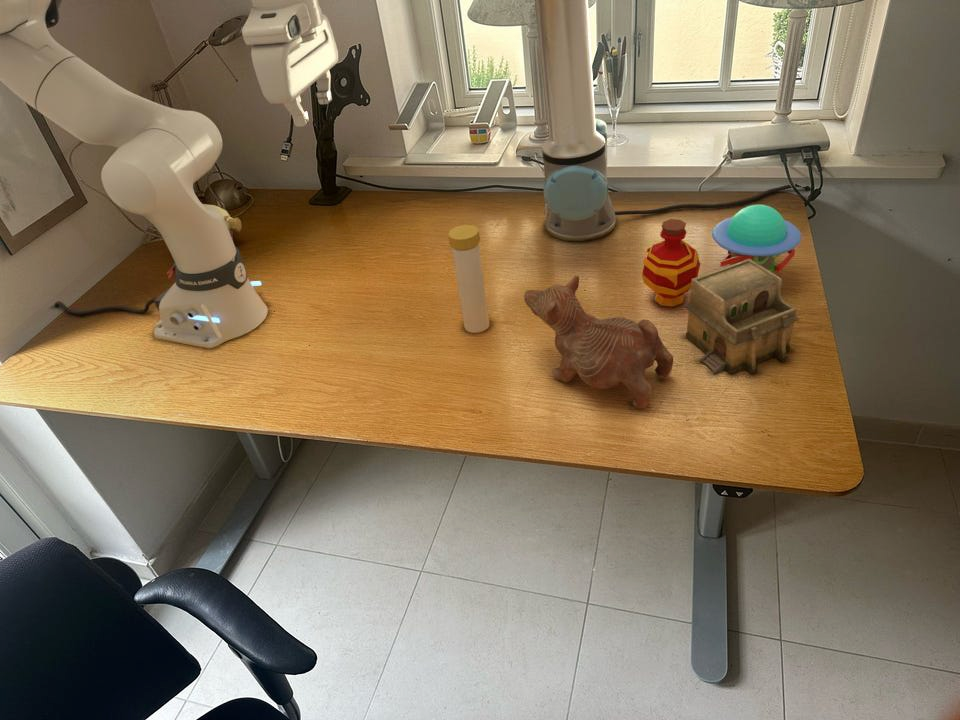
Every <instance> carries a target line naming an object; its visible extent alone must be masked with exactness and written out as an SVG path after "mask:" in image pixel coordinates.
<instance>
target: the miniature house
mask: <svg viewBox="0 0 960 720" xmlns="http://www.w3.org/2000/svg"><path fill="white" fill-rule="evenodd" d="M729 265H730V264H729ZM729 265H726V266H724V267H722V268H719V269H716V270H713V271H711V272H708V273H705V274H702V275H700V276H698V277H697V278H694V279H692V282H691V289H690V293H689V294H690V295H689V302H688V304H686V305H684V308H685V309H686V310H688V318H687V329H686V332H685V338H686V339H688V340H689V341H690V342H691V343H692V344H693V345H694V346H696V347H697V348H698V349H700V351H702V352H703V353H704V355H703V356H702V357H701V358H699V359H698V360H699V362H700V363H703V364H704V365H705V366H706V367H708V368H709V369H710V370H711V371H712V373H713V374H717V373H719V372H721V371H723V370H725V371H726V372H727V373H729V374H731V375H732V374H735V373H738V372H739V371H742V370H744V369H745V370H746V371H748V372H749V373H750V374H751V375H754V374H757V373H758V367H757V364H759V363H762V362H764V361H767V360H769V359H771V358H774V357H775V359H778V360H779V361H780V362H782V363H784V362H785V361H788V355H787V352H789V351H790V349H791V339H792V333H793V329H794V325H795V323H796V322H799V321H800V318H799V317H798V316H797V310H798V309H797V308H796V307H795V306H793V305H791V304H790V303H788V302H787V301H786V300H784V299H783V296H782V285H783V280H782V278H781V276H778V275H777V274H775V273H774V272H770V271H768V270H767V269H765V268H764V267H762V266H760V265H759V264H757V263H755V262H754V261H752V260H751V259H747V260H744V261H741V262H739V263H736V264H733V265H730V266H729Z"/></svg>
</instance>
